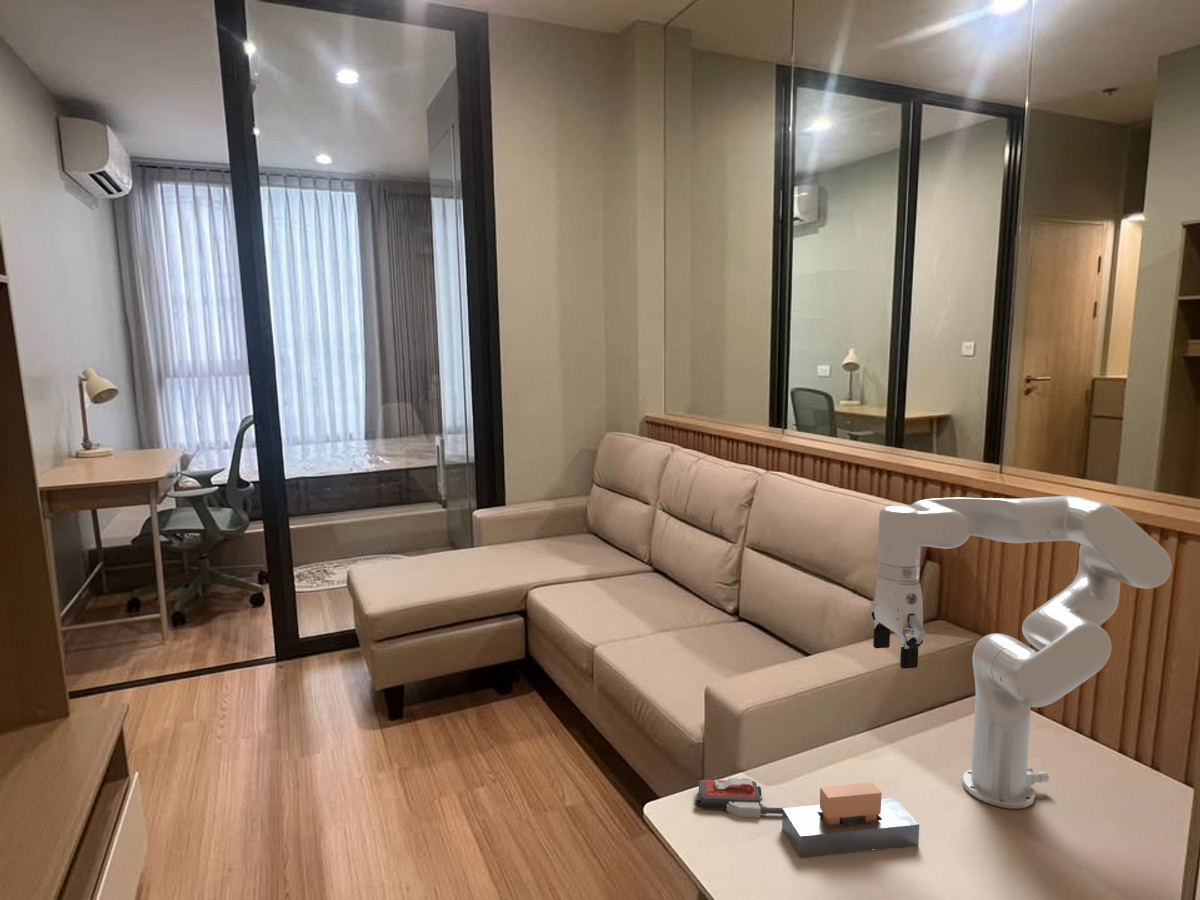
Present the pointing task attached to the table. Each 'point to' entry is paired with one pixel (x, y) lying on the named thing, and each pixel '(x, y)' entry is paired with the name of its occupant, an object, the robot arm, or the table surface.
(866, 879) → the table surface
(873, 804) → the tan forked block
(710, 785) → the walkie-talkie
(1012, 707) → the robot arm
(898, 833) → the metal socket block
